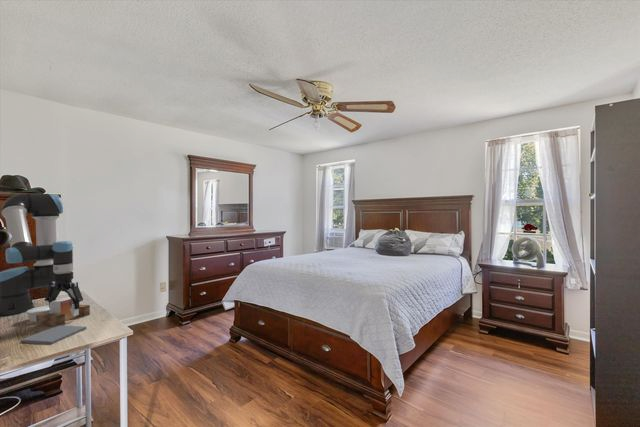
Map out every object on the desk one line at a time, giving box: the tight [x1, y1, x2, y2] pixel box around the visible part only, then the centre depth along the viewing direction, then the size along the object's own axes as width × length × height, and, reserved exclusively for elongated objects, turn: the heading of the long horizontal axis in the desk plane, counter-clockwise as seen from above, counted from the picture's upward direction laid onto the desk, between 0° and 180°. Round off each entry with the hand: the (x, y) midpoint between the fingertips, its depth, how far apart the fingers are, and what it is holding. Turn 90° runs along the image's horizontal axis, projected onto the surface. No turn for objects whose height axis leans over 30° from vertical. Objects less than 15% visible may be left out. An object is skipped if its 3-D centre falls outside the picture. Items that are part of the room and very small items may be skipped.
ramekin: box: [25, 304, 50, 323], centre depth 147 cm, size 11×11×5 cm
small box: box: [51, 296, 78, 322], centre depth 145 cm, size 8×6×10 cm
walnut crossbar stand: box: [36, 304, 91, 328], centre depth 145 cm, size 12×16×5 cm
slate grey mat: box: [20, 325, 87, 345], centre depth 127 cm, size 15×15×1 cm
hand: (64, 315), depth 145 cm, fingers open, 12 cm apart
